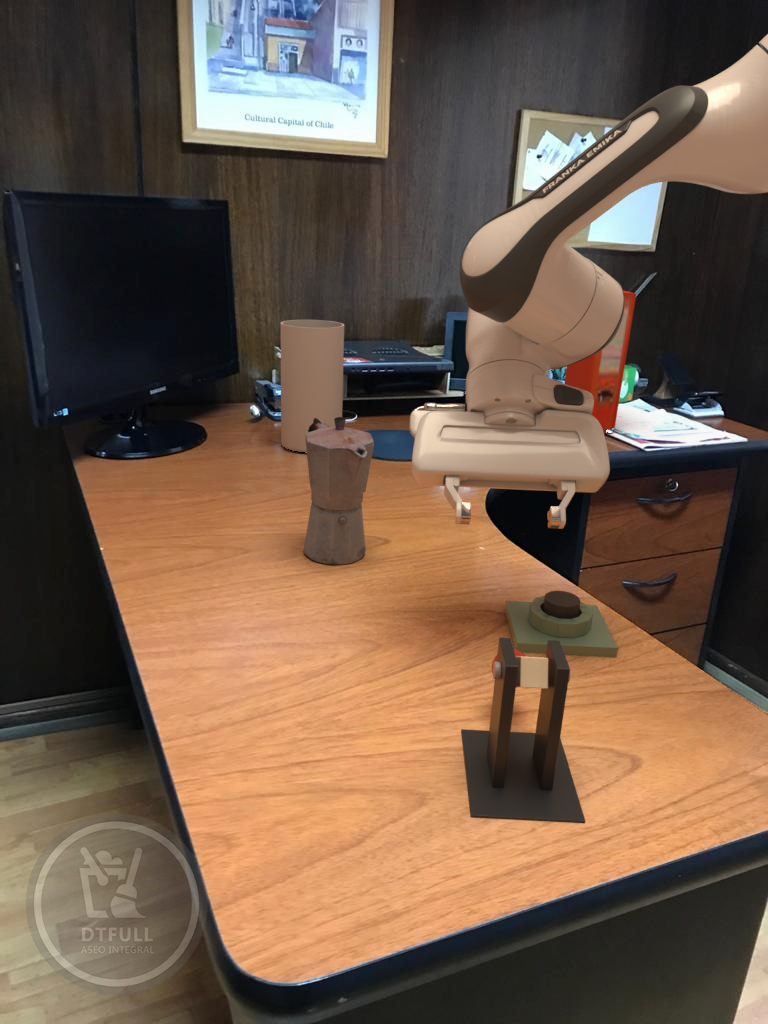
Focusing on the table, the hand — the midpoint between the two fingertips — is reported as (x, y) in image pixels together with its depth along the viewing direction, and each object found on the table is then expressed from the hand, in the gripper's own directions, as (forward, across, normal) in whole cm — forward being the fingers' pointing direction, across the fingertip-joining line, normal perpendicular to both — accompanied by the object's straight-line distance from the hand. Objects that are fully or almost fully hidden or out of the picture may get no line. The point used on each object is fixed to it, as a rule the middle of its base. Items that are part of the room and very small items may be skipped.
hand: (509, 524), depth 77 cm
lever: (+17, 0, -3) cm, 18 cm away
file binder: (-69, +35, +92) cm, 120 cm away
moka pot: (-9, -20, +32) cm, 39 cm away
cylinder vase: (-47, -29, +70) cm, 89 cm away
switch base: (+25, 0, -1) cm, 25 cm away
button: (+4, +8, +14) cm, 17 cm away
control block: (+7, +8, +17) cm, 20 cm away
